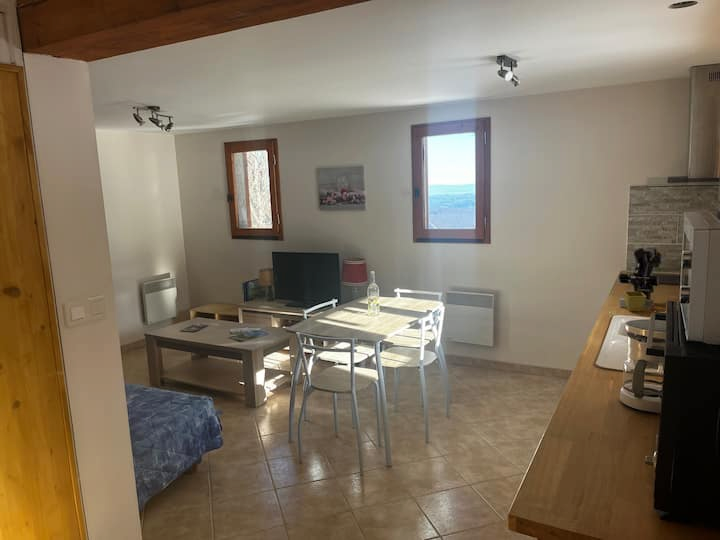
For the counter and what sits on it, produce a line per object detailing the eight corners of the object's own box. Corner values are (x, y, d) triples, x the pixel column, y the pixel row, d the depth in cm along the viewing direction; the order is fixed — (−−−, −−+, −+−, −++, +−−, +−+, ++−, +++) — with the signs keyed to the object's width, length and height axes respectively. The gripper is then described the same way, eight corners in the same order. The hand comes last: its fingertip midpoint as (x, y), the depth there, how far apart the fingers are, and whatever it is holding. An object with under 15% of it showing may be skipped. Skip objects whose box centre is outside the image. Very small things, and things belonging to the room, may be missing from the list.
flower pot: (645, 312, 279) (646, 296, 277) (627, 312, 280) (628, 296, 278) (639, 307, 287) (641, 291, 285) (622, 307, 289) (623, 291, 287)
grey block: (620, 306, 296) (620, 298, 295) (629, 306, 294) (629, 298, 293) (619, 307, 292) (620, 299, 291) (629, 308, 290) (629, 300, 289)
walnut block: (645, 307, 291) (646, 299, 291) (653, 308, 287) (654, 300, 287) (640, 308, 289) (640, 300, 288) (648, 309, 285) (648, 301, 284)
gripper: (661, 279, 292) (656, 302, 285) (624, 276, 304) (618, 298, 297) (659, 266, 285) (654, 290, 278) (621, 264, 297) (615, 286, 290)
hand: (635, 291), depth 286 cm, fingers closed
